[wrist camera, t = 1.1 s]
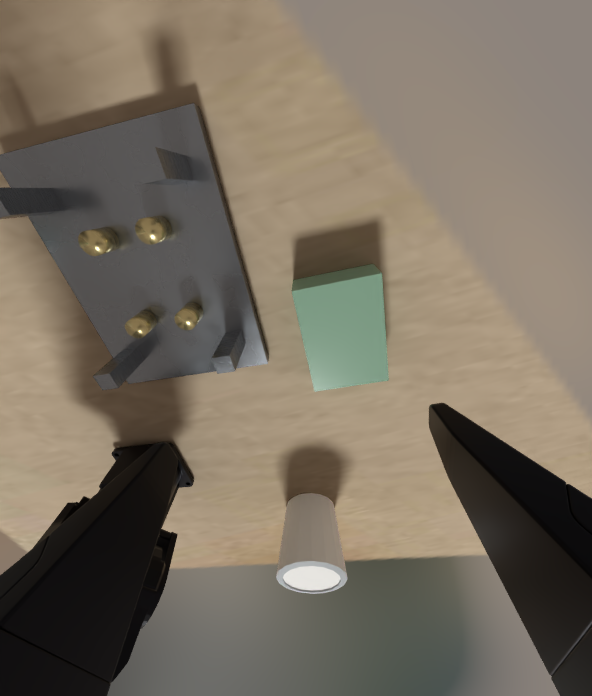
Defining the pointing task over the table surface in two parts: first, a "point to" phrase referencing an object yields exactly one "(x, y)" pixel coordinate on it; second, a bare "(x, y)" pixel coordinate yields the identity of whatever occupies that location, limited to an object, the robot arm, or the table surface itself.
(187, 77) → the table surface
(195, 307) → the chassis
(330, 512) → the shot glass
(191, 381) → the table surface
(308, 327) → the green rectangular block
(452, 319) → the table surface
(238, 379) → the table surface
